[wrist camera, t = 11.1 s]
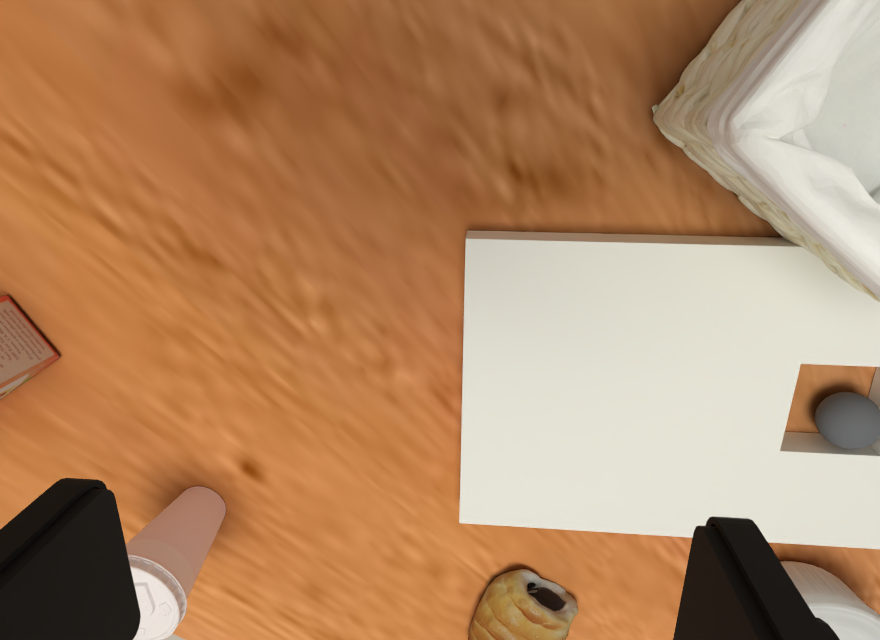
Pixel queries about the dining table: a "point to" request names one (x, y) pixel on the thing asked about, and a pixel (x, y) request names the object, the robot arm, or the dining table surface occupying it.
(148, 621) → the smoothie
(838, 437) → the ball
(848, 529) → the board
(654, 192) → the dining table surface
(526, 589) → the pastry
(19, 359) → the cracker box
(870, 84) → the storage basket
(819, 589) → the ramekin
